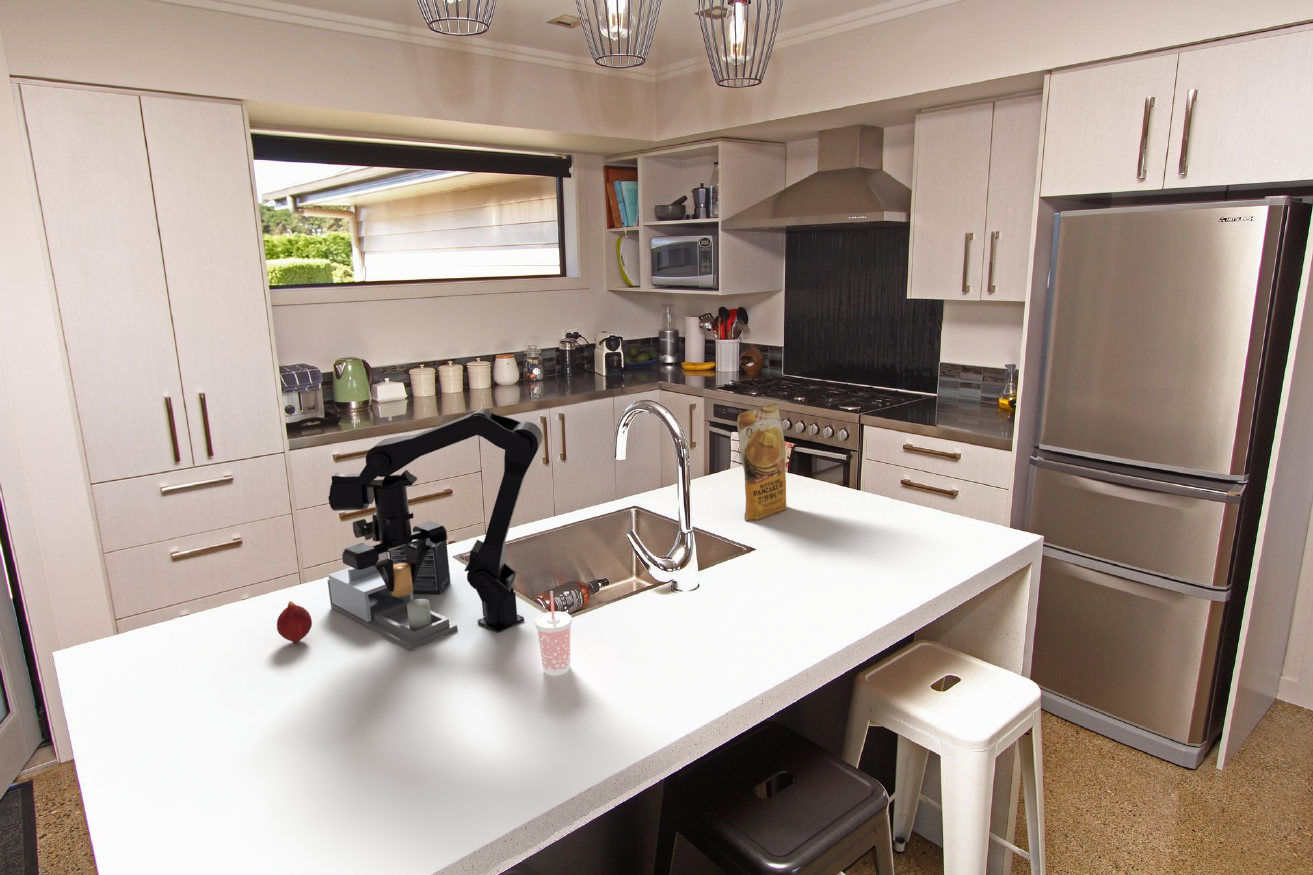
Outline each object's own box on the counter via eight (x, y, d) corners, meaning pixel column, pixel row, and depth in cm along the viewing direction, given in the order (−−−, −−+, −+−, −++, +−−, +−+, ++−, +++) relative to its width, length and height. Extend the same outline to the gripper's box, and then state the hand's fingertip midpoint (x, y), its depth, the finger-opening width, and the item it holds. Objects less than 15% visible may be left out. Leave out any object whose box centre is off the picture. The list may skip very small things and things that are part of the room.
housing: (457, 629, 148) (454, 600, 146) (410, 650, 140) (407, 620, 139) (376, 591, 166) (373, 564, 164) (331, 608, 159) (327, 580, 157)
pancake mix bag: (728, 518, 203) (728, 412, 197) (776, 501, 216) (777, 400, 209) (748, 524, 198) (748, 415, 192) (796, 507, 211) (797, 404, 204)
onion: (321, 636, 147) (315, 596, 145) (298, 651, 142) (292, 610, 140) (296, 632, 149) (290, 593, 147) (272, 647, 143) (266, 606, 142)
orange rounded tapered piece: (405, 585, 151) (402, 561, 150) (417, 591, 149) (414, 566, 148) (386, 593, 148) (383, 568, 147) (398, 598, 146) (395, 573, 145)
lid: (414, 603, 157) (409, 563, 155) (367, 621, 149) (362, 580, 147) (377, 586, 165) (372, 548, 163) (332, 602, 158) (326, 563, 156)
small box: (452, 581, 170) (447, 535, 167) (441, 594, 163) (436, 547, 161) (404, 581, 171) (399, 535, 168) (392, 594, 164) (386, 546, 162)
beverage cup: (534, 663, 135) (528, 588, 132) (568, 655, 137) (563, 581, 134) (543, 681, 129) (538, 602, 126) (579, 672, 132) (574, 595, 128)
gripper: (412, 488, 157) (420, 561, 160) (321, 513, 143) (333, 593, 147) (445, 498, 150) (452, 574, 153) (353, 525, 136) (364, 609, 140)
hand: (401, 586), depth 148 cm, fingers closed on orange rounded tapered piece, 4 cm apart
